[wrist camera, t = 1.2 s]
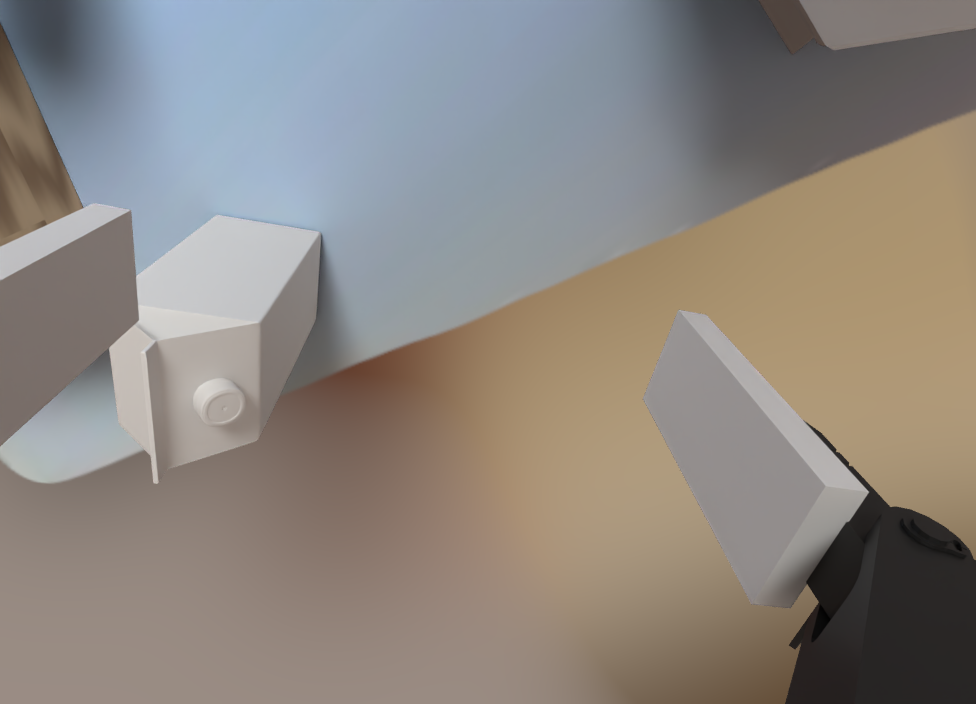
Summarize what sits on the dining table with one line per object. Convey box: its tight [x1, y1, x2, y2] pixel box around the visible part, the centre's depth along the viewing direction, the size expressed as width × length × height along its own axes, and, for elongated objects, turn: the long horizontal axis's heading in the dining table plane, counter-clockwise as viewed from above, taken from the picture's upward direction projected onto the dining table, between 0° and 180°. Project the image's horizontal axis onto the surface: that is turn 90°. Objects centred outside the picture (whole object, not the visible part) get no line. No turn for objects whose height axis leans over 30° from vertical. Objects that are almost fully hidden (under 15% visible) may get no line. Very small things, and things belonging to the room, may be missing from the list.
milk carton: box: [109, 215, 321, 484], centre depth 34 cm, size 7×7×19 cm
